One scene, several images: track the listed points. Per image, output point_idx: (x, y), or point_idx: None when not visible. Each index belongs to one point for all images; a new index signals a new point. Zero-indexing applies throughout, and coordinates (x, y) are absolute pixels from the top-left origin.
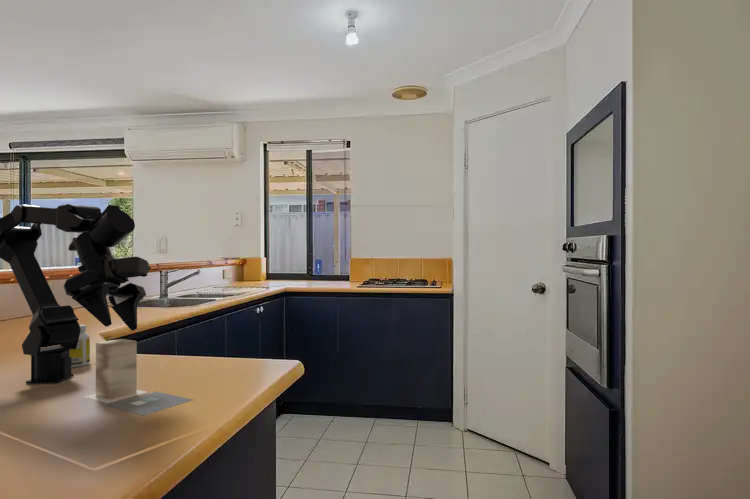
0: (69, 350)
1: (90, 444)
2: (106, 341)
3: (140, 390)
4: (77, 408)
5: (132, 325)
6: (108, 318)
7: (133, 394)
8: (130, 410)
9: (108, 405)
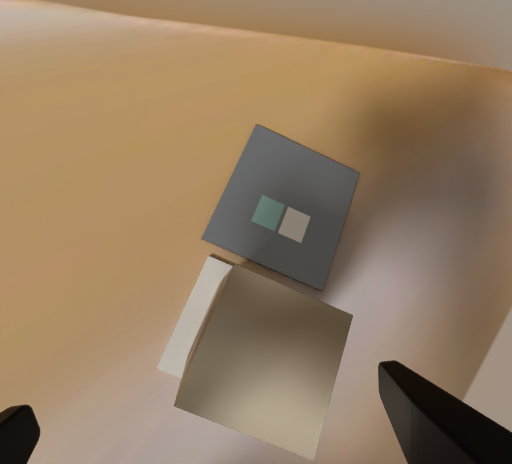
0: None
1: (466, 185)
2: (272, 424)
3: (194, 288)
4: None
5: (4, 455)
6: (431, 387)
7: None
8: (341, 212)
9: (322, 281)
